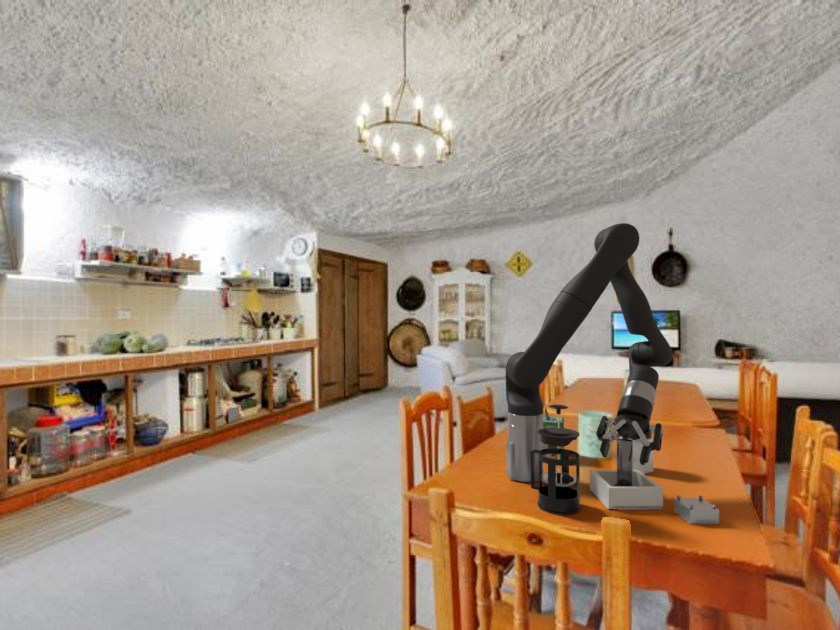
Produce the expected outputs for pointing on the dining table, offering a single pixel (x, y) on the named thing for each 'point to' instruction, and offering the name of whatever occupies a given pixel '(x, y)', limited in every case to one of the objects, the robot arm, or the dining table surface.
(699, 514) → the stud mount
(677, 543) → the dining table surface
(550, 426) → the chalk box
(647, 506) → the bin
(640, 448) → the jar
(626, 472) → the grey metal flanged cylinder
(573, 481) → the french press
